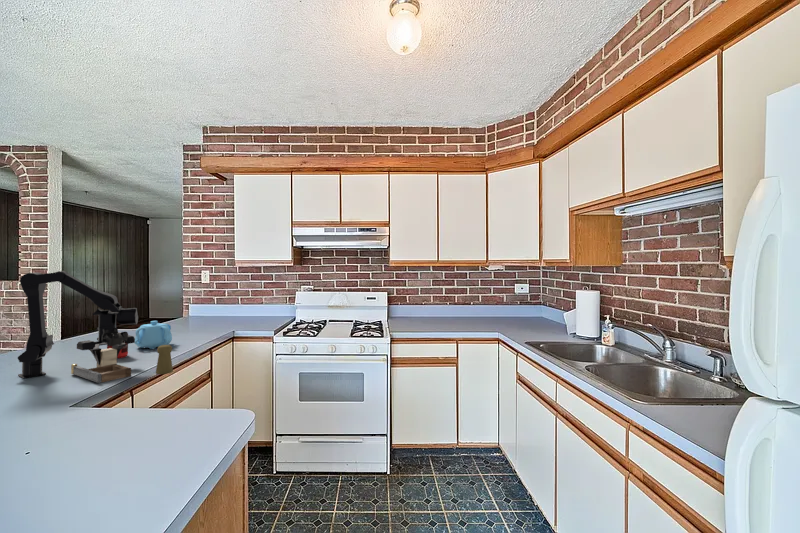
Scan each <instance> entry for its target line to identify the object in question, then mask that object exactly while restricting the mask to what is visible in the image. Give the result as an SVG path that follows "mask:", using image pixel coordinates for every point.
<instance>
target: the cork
mask: <svg viewBox="0 0 800 533" xmlns="http://www.w3.org/2000/svg"><path fill="white" fill-rule="evenodd" d="M156 350H157V354H158V357H157V362H156V369H155V374H156V375H167V374H171V373H173V371H174V370H173V361H172V355H171V353H172V351H173V347H172V345H170V344H167V345H161V346H159V347H157V349H156Z"/></svg>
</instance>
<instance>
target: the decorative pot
mask: <svg viewBox="0 0 800 533" xmlns="http://www.w3.org/2000/svg"><path fill="white" fill-rule="evenodd" d="M171 330H172V326H171V324H168V323H160V322H158V320H151V321H150V323H147V324H141V325H140V326H139V327H138V328H137V329H136V330H135V336H134V338H135V343H134V344H135V345H136V346H137V347H139V348H140V349H145V348H149V350H154V349H155V350H156V348H158V347H159V346H161V345H170V344H171V342H172V341H173V335H172V332H171Z"/></svg>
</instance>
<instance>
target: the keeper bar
mask: <svg viewBox="0 0 800 533" xmlns="http://www.w3.org/2000/svg"><path fill="white" fill-rule="evenodd" d="M70 367H71V371H70V374H71V375H75V376H78V377H81V378H83V379H86V380H88V381H92V382H95V383H102V382H101V373H98V372H95V371H92V370H89V369H90V368H86V367H82V366H79V365H78V363H72V364H71V366H70Z"/></svg>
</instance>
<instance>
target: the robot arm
mask: <svg viewBox="0 0 800 533" xmlns="http://www.w3.org/2000/svg"><path fill="white" fill-rule="evenodd" d="M55 282H59V283H60V284H62V285H64V286H66V287H67V288H70V289H72V290H73V291H74V292H75V291H76V292H77V293H79V294H81V295H83V296H84V297H86V298H88V299H89V300H90V302H92V303H93V304H94V305H96V307H98V308H97V309H96V310H95V311H94V312H92V316H98V327H96V331H98V336H97V338H96V341H94V340H82V341H78V342H77V344H76V349H77V350H80V351H90V352H91V354H92V356H93V357H94V360H95V361H96V364H97V363H98V365H100V363H101V357H100V351H101V350H102V348H100V346H107V344H108V345H109V346H112V349H116V350H117V357H118V354H119V352H120V350H121V349H122V348H123V347H124V346H126V344H125V343H127V344H128V345H129V344H135V336H134V335H129V333H128V331H120V332H121V333H118V332H119V329H118V327H117V324H119V325H120V326H127V325H129V326H130V325H131V326H132V325H138V321H139V315H138V314H139V313H138V308H137V307H132V308H123V306H121V304H120V302H118V297H117V296H116V295H114V294H112V293H109V292H106V291H102V290H99V289H97V288H95V287H93V286H92V285H90V284H88V283H86V282H84V281H82V280H80V279H78V278H77V277H75V276H73V275H71V274H70V273H68V271H64V270H60V271H56V272H50V273H49V272H48V273H41V272H29V273H25V274H23V275H22V276H20V280H19V283H20V286H21V289H22V291H23V293H24V295H25V296H26V300H27V312H28V325H29V336H28V338H27V341H26V347H25V350H24V351H23V352H22V353H20V355H18V356H17V361H18V362H19V363H21V373H18V375H17V376H18V377H20V378H22V379H28V378H34V377H38V376H39V377H40V376H45V375H47V372H44V371H43V358H44V357H45V356H46V354H47V353H48V352H50V350H52V347H53V346H54V345H55V343H54V339H53V337H54V334H48V332H47V330H46V319H45V318H46V317H45V308H44V307H45V305H44V293H45V290H46V288H47V284H49V283H55Z"/></svg>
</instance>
